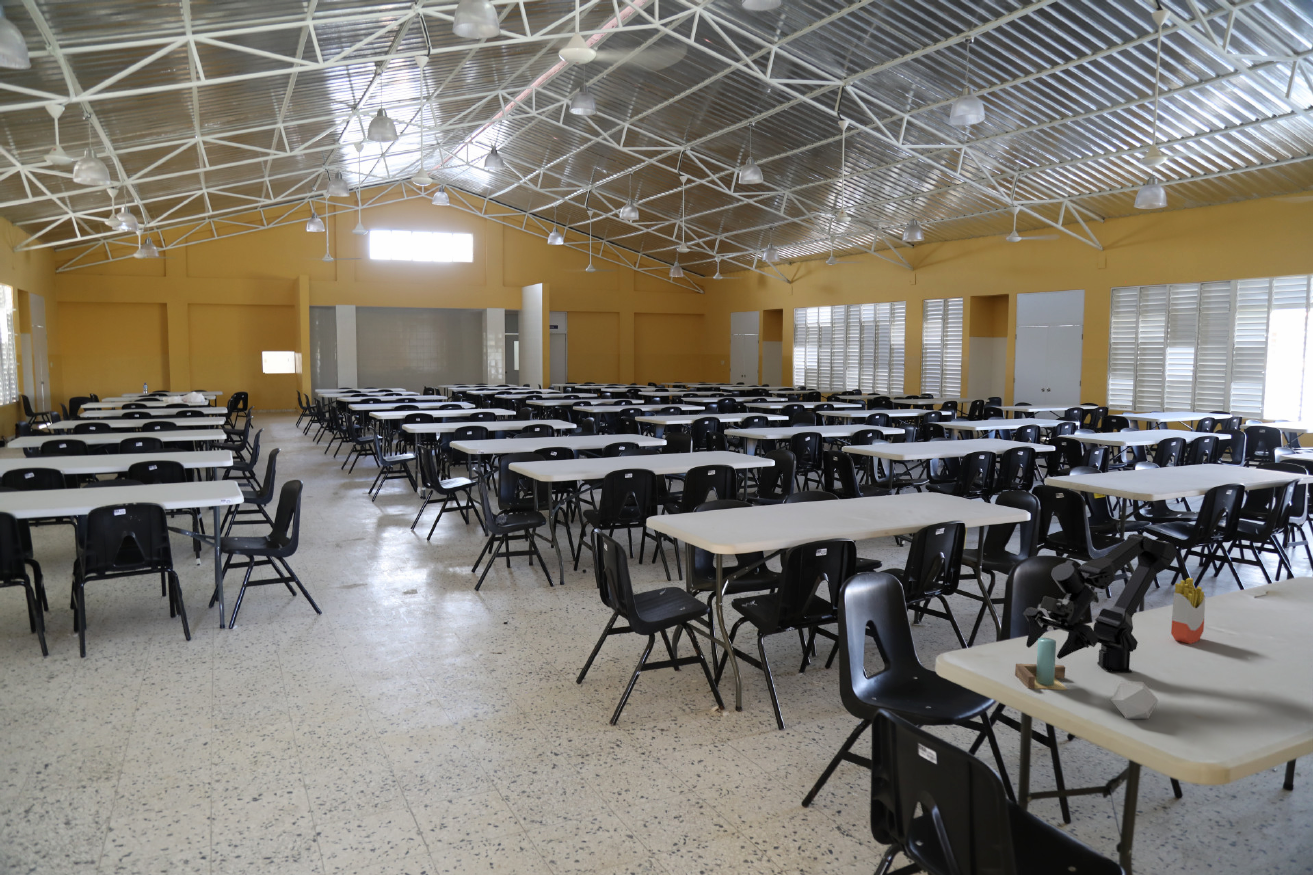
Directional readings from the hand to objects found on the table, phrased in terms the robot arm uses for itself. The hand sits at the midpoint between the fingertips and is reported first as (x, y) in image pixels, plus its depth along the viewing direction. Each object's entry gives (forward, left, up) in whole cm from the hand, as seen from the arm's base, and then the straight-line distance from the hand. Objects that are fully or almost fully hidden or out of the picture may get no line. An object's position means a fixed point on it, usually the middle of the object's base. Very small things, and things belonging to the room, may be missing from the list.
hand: (1042, 652), depth 217 cm
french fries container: (-57, -41, -9) cm, 71 cm away
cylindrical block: (-1, -1, -8) cm, 8 cm away
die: (-14, +18, -9) cm, 25 cm away
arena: (-1, -1, -8) cm, 8 cm away
